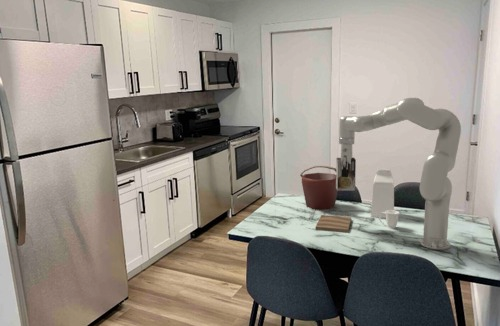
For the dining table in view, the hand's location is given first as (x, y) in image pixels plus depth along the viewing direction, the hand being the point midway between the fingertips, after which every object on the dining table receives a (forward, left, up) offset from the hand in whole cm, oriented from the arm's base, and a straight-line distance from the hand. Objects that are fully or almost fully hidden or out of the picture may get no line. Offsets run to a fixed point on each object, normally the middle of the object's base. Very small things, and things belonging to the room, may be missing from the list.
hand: (345, 175), depth 196 cm
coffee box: (0, 0, -8) cm, 8 cm away
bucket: (+31, +17, -27) cm, 44 cm away
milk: (+23, -19, -27) cm, 39 cm away
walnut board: (-1, +5, -26) cm, 27 cm away
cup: (+3, -22, -27) cm, 34 cm away
